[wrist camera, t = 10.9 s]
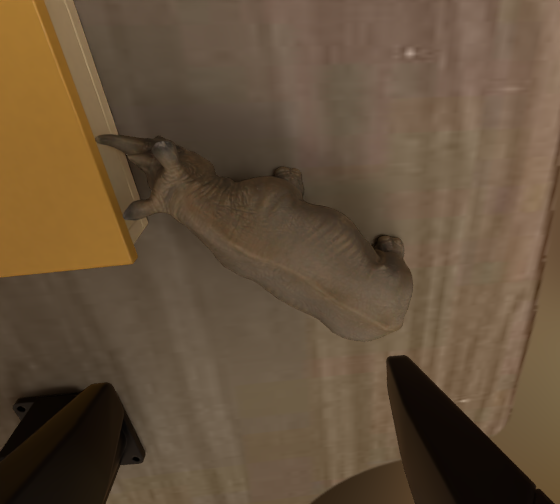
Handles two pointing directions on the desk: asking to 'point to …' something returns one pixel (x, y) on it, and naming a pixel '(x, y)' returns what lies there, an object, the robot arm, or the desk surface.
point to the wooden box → (94, 104)
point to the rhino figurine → (277, 238)
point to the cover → (50, 159)
